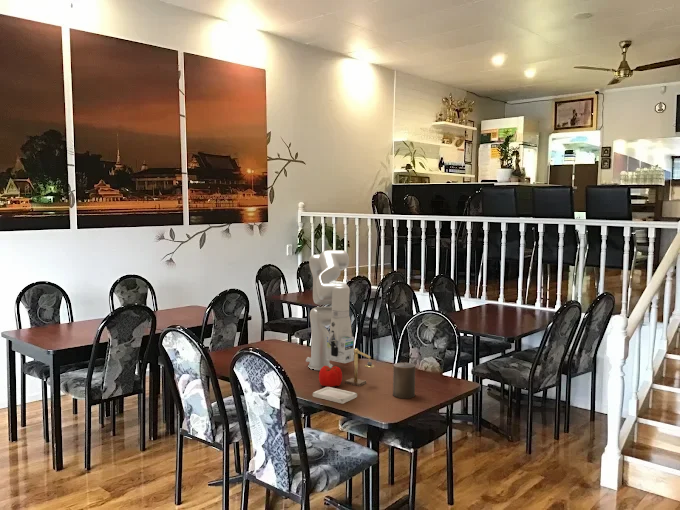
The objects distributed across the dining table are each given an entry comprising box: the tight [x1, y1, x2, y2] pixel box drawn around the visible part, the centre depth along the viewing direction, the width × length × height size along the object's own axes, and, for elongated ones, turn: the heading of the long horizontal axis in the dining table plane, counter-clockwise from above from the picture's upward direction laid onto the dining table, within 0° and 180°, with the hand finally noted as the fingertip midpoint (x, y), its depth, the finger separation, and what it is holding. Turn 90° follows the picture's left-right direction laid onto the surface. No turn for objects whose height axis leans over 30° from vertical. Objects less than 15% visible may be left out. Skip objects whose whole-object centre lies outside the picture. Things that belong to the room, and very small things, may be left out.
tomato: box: [318, 365, 343, 388], centre depth 276 cm, size 11×12×9 cm
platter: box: [312, 386, 358, 404], centre depth 260 cm, size 16×11×2 cm
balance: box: [344, 347, 376, 387], centre depth 280 cm, size 20×6×18 cm, turn 55°
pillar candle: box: [392, 361, 416, 399], centre depth 263 cm, size 10×10×15 cm
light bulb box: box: [326, 335, 355, 364], centre depth 260 cm, size 11×7×11 cm, turn 53°
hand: (339, 354), depth 260 cm, fingers closed on light bulb box, 6 cm apart
